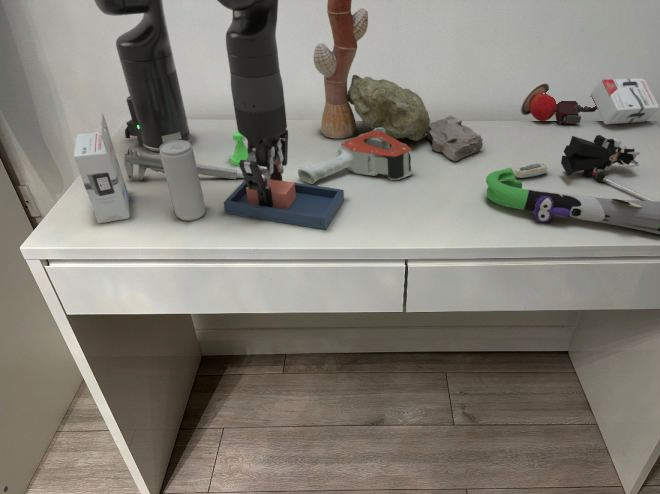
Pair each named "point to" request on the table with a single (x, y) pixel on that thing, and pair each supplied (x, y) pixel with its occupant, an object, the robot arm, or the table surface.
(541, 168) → the bacterium model
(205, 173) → the caliper
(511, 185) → the toy
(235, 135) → the game piece
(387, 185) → the table surface
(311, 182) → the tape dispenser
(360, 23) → the plant stem model
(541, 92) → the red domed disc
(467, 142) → the stone
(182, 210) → the beverage can
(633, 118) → the ink box
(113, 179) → the product box
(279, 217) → the tray
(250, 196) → the eraser
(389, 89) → the rock
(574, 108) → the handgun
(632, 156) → the toy
